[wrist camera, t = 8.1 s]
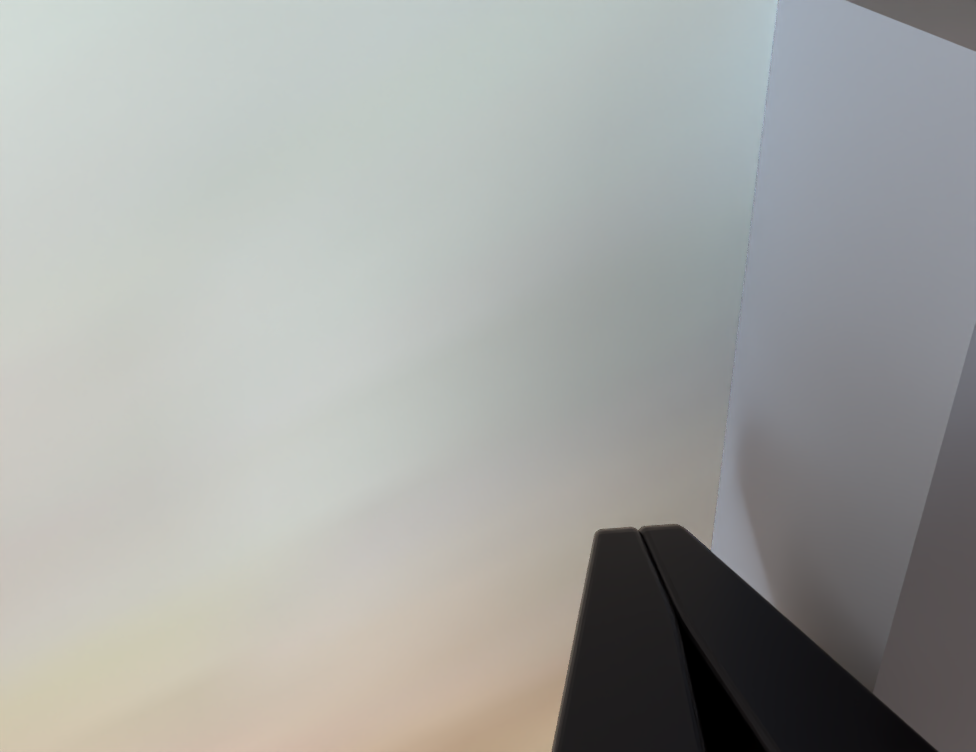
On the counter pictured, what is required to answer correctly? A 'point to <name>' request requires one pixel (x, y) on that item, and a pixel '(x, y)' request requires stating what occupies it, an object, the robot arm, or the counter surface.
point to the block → (864, 353)
